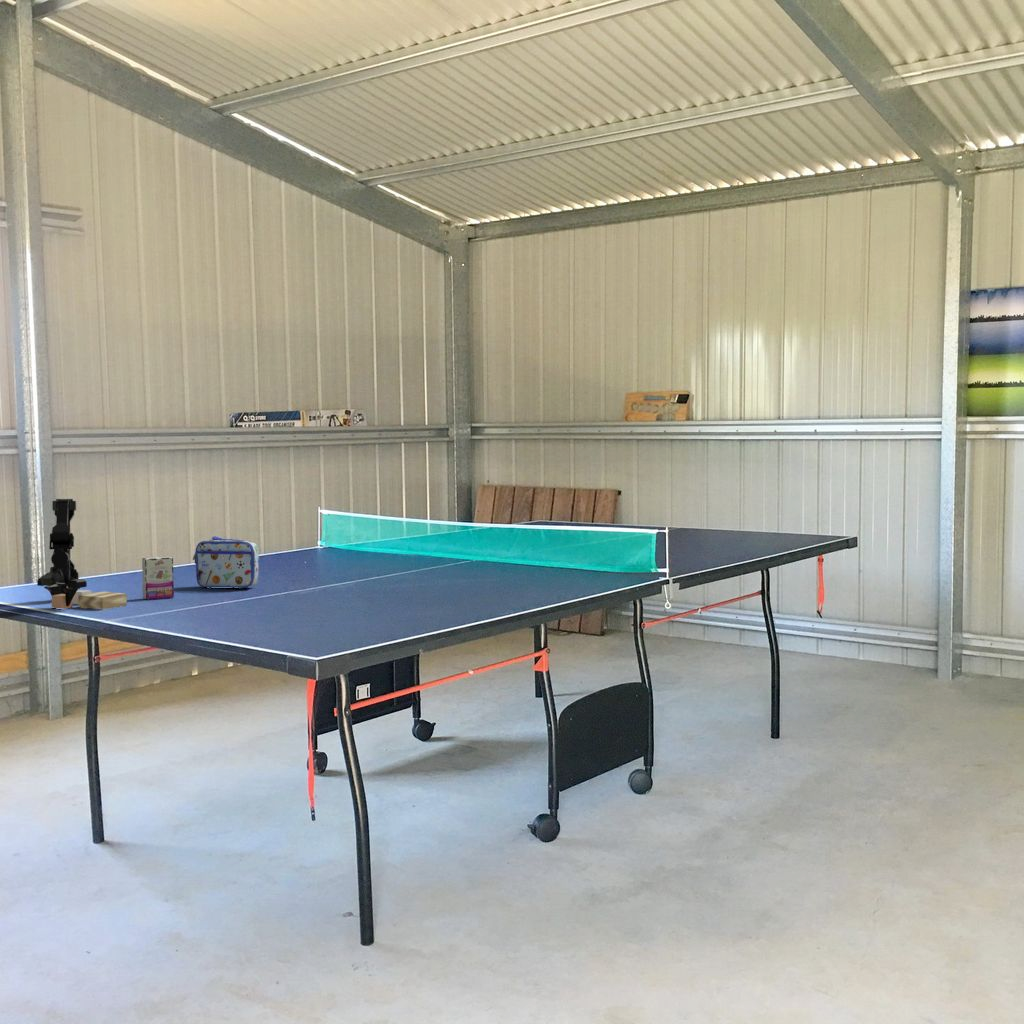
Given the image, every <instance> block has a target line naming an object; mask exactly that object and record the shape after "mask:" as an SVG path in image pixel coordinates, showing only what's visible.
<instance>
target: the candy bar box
mask: <svg viewBox="0 0 1024 1024" xmlns="http://www.w3.org/2000/svg"><path fill="white" fill-rule="evenodd" d="M141 564H142V565H141V567H142V570H141V571H142V573H141V574H142V575H141V577H142V599H143V598H144V599H143V600H145V599H154V600H160V599H159V598H166V599H173V598H172V597H174V598H175V595H174V594H175V589H174V588H175V587H174V557H172V556H158V557H156V556H155V557H142V559H141Z"/></svg>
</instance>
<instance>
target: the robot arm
mask: <svg viewBox="0 0 1024 1024" xmlns="http://www.w3.org/2000/svg"><path fill="white" fill-rule="evenodd" d="M51 503H52V504H51V506H52V507H51V509H52V511H53V512H54V516H55V517H56V519H55V521H56V522H55V525H54V526H52V528H51V532H50V533H49V547H48V548H49V550H53V551H52V555H51V558H50V561H51V563H52V565H53V566H50V568H49V571H48V572H46V573H44V574H43V575H41V576H40V577H39V578H38V579H37V580H36V581H37V582H36V583H37V584H36V585H37V586H38V587H43V588H44V589H46V590H47V591H49V593H50V596H51V597H52V595H58V594H65V597H66V606H69V605H70V603H71V601H72V599H73V597H74V595H75V593H76V592H77V591H78V590H81V588H86V587H87V580H86V579H83V578H80V577H79V576H80V575H79V572H78V570H77V569H76V567H75V566H76V565H75V563H74V562H73V561H72V559H71V550H72V549H73V548H74V547H75V536H74V534H73V533H72V532H71V521H72V519H73V518H74V517H75V512H76V511H77V501H76V500H74V499H73V498H56V499H55V500H52V502H51Z"/></svg>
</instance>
